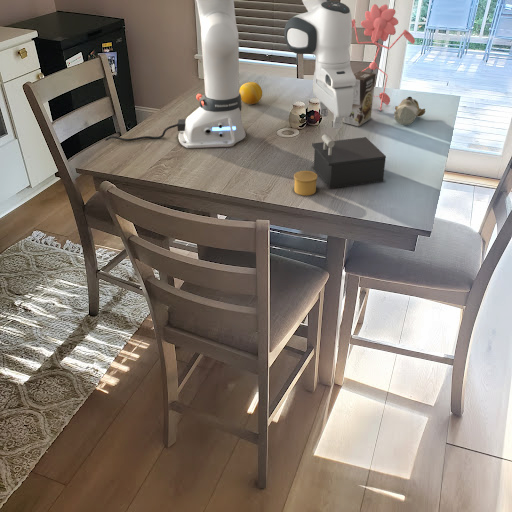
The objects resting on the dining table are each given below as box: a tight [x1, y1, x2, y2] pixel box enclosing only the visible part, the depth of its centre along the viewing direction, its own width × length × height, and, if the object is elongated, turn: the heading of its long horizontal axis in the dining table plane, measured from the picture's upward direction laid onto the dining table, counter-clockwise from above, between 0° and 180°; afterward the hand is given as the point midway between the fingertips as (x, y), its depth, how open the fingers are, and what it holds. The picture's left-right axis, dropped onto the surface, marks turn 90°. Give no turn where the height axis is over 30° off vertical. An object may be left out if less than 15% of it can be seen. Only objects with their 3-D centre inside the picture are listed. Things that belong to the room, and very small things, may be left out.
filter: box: [293, 170, 318, 196], centre depth 154 cm, size 6×6×4 cm
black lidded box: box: [313, 149, 387, 189], centre depth 161 cm, size 16×14×7 cm
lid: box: [311, 133, 387, 166], centre depth 157 cm, size 17×14×5 cm
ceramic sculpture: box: [393, 96, 426, 126], centre depth 194 cm, size 11×9×15 cm
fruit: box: [239, 81, 263, 105], centre depth 211 cm, size 9×8×8 cm
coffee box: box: [343, 70, 377, 127], centre depth 192 cm, size 9×6×16 cm
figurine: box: [352, 3, 416, 111], centre depth 201 cm, size 15×26×35 cm, turn 71°
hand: (329, 121), depth 152 cm, fingers open, 8 cm apart
